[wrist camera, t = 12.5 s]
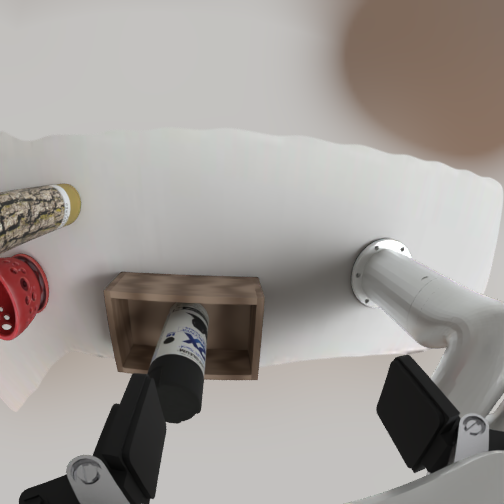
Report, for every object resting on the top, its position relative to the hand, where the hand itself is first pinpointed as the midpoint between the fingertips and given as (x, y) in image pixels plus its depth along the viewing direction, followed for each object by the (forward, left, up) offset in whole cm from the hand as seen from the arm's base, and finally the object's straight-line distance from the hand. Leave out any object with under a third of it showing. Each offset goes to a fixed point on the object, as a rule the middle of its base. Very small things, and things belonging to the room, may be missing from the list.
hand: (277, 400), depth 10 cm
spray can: (+7, +14, -34) cm, 38 cm away
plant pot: (+39, +10, -35) cm, 54 cm away
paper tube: (+28, -4, -35) cm, 45 cm away
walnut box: (+7, +14, -35) cm, 38 cm away
